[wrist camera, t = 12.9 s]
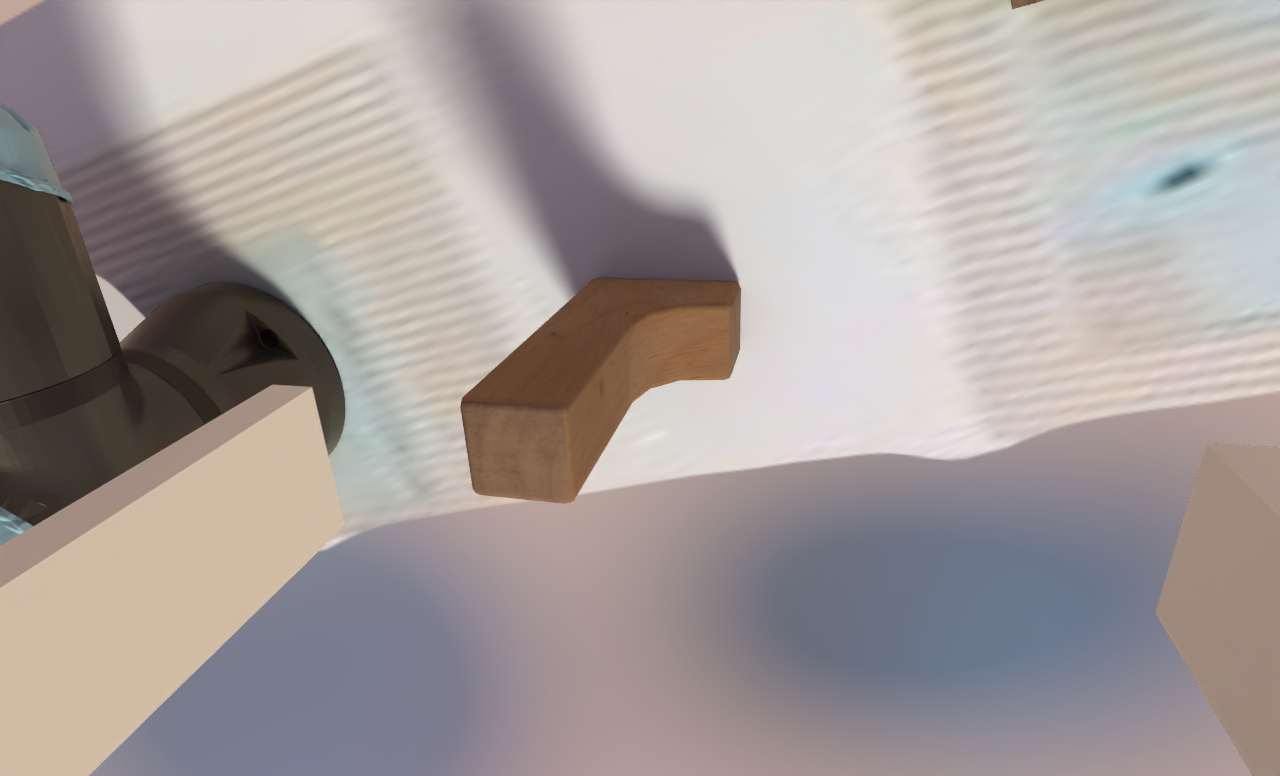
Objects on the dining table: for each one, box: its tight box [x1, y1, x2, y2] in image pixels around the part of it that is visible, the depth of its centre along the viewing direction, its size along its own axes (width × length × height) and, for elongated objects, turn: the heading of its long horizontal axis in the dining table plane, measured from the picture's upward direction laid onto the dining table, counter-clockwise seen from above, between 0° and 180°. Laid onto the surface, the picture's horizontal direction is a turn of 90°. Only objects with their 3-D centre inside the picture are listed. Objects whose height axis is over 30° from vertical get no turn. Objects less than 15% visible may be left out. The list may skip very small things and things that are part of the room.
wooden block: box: [461, 278, 741, 503], centre depth 36 cm, size 9×4×18 cm, turn 93°
